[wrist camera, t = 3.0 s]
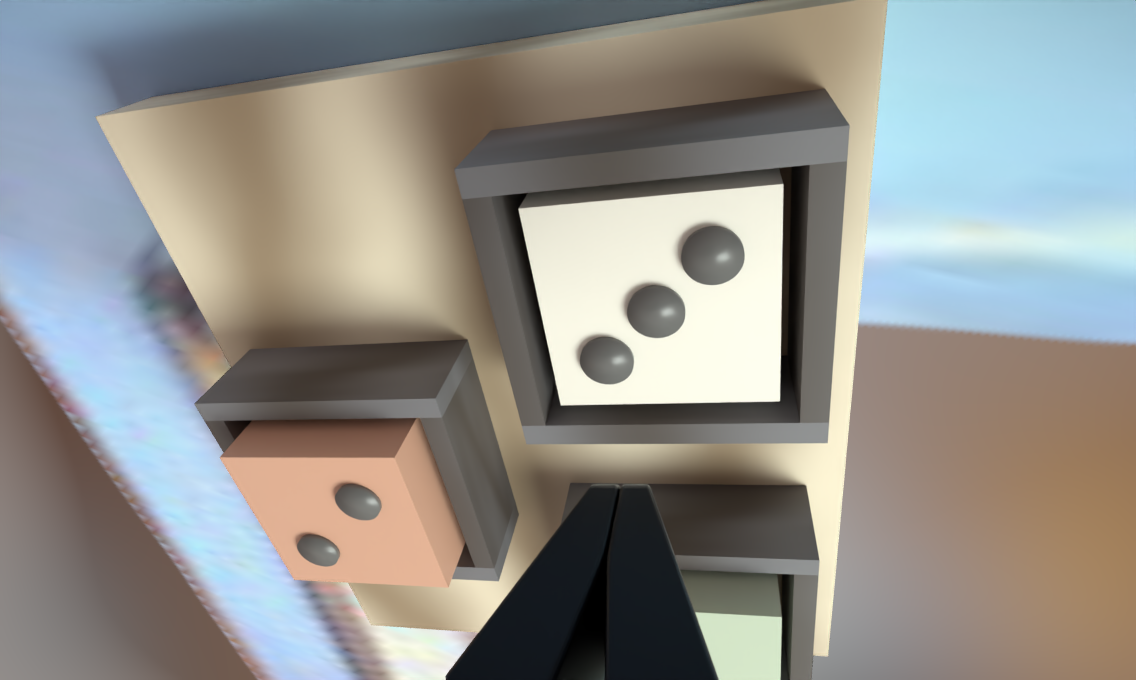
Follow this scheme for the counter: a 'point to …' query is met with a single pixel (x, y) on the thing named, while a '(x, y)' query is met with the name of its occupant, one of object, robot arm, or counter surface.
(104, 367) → the counter surface
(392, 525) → the terracotta tile
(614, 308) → the cream tile
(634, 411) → the button board
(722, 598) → the sage tile
